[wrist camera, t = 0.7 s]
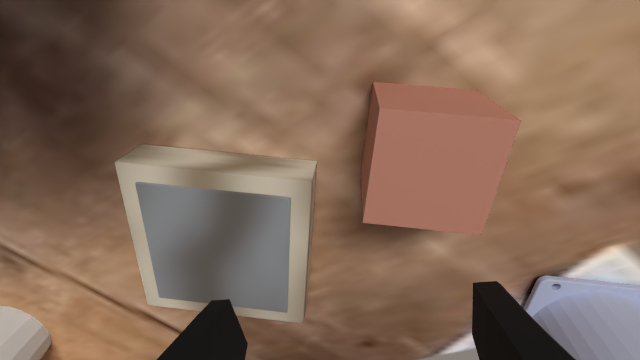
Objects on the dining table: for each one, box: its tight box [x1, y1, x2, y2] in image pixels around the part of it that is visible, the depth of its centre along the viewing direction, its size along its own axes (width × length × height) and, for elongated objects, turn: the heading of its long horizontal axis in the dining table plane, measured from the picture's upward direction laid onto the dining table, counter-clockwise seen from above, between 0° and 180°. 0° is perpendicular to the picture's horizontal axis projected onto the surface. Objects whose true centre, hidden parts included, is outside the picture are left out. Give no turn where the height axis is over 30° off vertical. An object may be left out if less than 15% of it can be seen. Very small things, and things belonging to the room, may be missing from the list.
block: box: [361, 82, 521, 235], centre depth 15 cm, size 5×5×5 cm
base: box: [115, 144, 317, 323], centre depth 20 cm, size 10×10×3 cm
